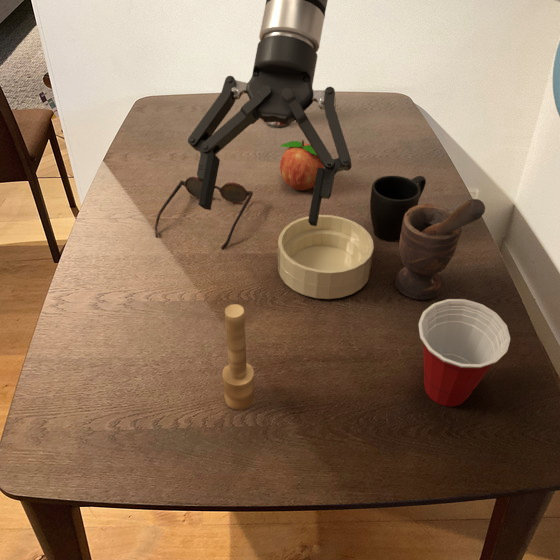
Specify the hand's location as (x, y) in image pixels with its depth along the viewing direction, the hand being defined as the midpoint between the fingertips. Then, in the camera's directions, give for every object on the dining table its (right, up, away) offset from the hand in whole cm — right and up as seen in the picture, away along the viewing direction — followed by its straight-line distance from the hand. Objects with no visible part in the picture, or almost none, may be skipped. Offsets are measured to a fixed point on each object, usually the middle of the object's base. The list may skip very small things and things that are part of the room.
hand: (257, 215), depth 70 cm
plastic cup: (+25, -23, +8) cm, 35 cm away
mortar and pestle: (+26, -10, +23) cm, 36 cm away
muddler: (-3, -23, +6) cm, 24 cm away
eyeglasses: (-11, +3, +37) cm, 39 cm away
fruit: (+7, +11, +47) cm, 48 cm away
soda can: (+2, +30, +68) cm, 74 cm away
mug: (+24, +1, +36) cm, 43 cm away
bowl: (+10, -6, +26) cm, 29 cm away
